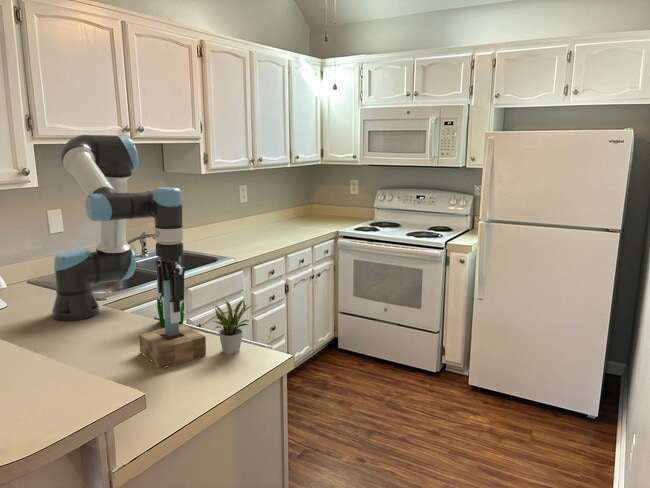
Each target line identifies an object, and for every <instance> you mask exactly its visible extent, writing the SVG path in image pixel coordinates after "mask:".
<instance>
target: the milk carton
mask: <svg viewBox="0 0 650 488" xmlns="http://www.w3.org/2000/svg"><path fill="white" fill-rule="evenodd" d="M173 275H174V274H173ZM156 306H157V308H156V309H157V314H158V318H159V321H160V325H161V328H165V319H163V297H162V296H161V293H159V292H158V276H157V278H156ZM184 317H185V299H184V300H181V301H180V318H181V321H180V322H179V325H180V324H184V320H185V319H184Z"/></svg>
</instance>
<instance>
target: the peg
mask: <svg viewBox="0 0 650 488" xmlns="http://www.w3.org/2000/svg"><path fill="white" fill-rule="evenodd" d="M163 289H164V316H165V327H164V328H165V335H168V336H174V335H177V334H179V322H176V323H171V316H170V302H169V300H172V299H171V291H170V283H169V280H164V281H163Z"/></svg>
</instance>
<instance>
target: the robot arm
mask: <svg viewBox="0 0 650 488" xmlns="http://www.w3.org/2000/svg"><path fill="white" fill-rule="evenodd" d="M60 161H61V165H62V166H63V168H64V169H65V170H66V171H67V173H69V174H71V175H72V176H73V177H74V179H75V180H76V182H77V183H78V185H79V187H80V188H81V189H82V191H83V193H84V195H86V198H85V211H86V215H87V217H88V219H89V220H90V221H92V222H93V221H94V222H100V242H99V243H97V244H96V247H95V248H96V249H95V251H91V250H90V249H89V248H75V249H68V250H66V251H63V252H60V253H58V254H57V255H55V257H54V261H53V262H54V264H53V265H54V267H53V270H54V280H55V290H56V296H55V300H54V303H53V307H52V310H51V312H52V318H53V319H54V320H57V321H64V322H65V321H66V322H71V321H73V322H74V321H80V320H85V319H88V318H92V317H95V316H97V315H98V314H100V305H99V303H98V301H97V298H96V297H95V294H94V292H93V285H96V284H101V283H102V284H103V283H109V282H111V283H112V282H116V281H117V282H120V281H123V280H128V279H130V278H131V277H133V275H134V273H135V270H136V266H137V259H136V253H135V251H134V250H133V248H131V245H130V244H129V243H128V242H127V220H135V219H152V218H153V219H154V232H153V234H154V237H155V241H156V243H155V255H156V257H158V258H160V259H158V260H155V264H156V265H155V266H156V271H157V275H156V276H157V277H158V292H159V293H161V296H162V297H163V319H165V316H164V289H163V281H164V280H169V283H170V291H171V299H172V300H169V302H170V316H171V323H176V322H180V321H181V318H180V301H181V300H184V301H185V272H186V267H184V266H181V265H180V264H181V263H180V259H179V258H180V257H182V256H183V255H184V242H183V241H184V226H183V197H182V196H183V195H182V191H181V189H180V188H178V187H172V186H171V187H170V186H168V187H167V186H166V187H165V186H164V187H163V186H161V187H156V188H154V190H151V191H150V190H147V191H142V192H128V180H129V179H130V178H131V177H132V176H133V175H132V172H133V171H135V170H137V169H138V166H139V156H138V150H137V147H136V145H135V143H134V141H133V140H132V139H131V138H130V137H127V136H119V135H105V134H104V135H99V134H98V135H97V134H92V135H91V134H81V135H77V136H75V137H72V138H70V139H69V140H68V141H67V142H66V143H65V144H64V146H63V147H62V148H61V153H60ZM173 274H174V275H173Z"/></svg>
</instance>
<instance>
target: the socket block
mask: <svg viewBox="0 0 650 488" xmlns="http://www.w3.org/2000/svg"><path fill="white" fill-rule="evenodd" d="M138 337H139V338H138V340H139V353H140V352H141V353H142V354H144V355H145V356H146V357H148V358H149V359H150V360H152V361H153V362H154V363H155V364H157V365H158V366H159V367H161V368H163V369H165V368H164V367H166V366H169V367H171V366H170V365H173V364H176V365H179V364H182V363H181V362H183V363H185V361H186V362H189V361H192V359H193V360H195V358H196V359H199V358H198V357H200V358H203V357H206V356H207V348H206V347H207V345H206V344H207V343H206V342H207V341H206V340H207V337H206V336H205V335H204V334H202V333H200V332H198V331H197V330H194V329H193V328H192V327H189V326H187V325H186V324H184V323H183V324H180V325H179V334H177V335H174V336H168V335H165V327H162V328H160V329H156V330H152V331H146V332H143V333H139V334H138ZM141 353H140V354H141ZM142 354H141V355H142ZM205 355H206V356H205ZM145 356H144V357H145ZM202 356H203V357H202ZM146 357H145V358H146ZM149 359H148V360H149ZM150 360H149V361H150ZM188 360H189V361H188ZM153 362H152V363H153ZM154 363H153V364H154ZM178 363H179V364H178ZM155 364H154V365H155ZM157 365H156V366H157ZM158 366H157V367H158ZM173 366H174V365H173ZM159 367H158V368H159ZM161 368H160V369H161ZM166 368H167V367H166Z"/></svg>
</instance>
